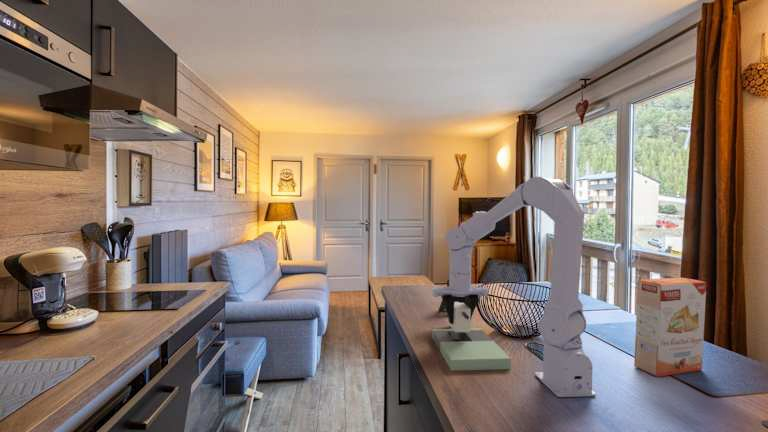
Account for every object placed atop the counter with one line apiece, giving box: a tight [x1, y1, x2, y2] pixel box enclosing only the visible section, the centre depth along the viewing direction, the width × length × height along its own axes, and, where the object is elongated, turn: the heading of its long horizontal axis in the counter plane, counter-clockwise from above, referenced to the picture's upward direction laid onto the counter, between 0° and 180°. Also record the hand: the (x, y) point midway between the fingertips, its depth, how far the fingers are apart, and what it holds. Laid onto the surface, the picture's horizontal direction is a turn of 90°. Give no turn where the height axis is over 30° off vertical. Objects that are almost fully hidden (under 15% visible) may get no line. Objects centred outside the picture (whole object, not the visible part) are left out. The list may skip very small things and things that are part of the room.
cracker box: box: [633, 277, 708, 378], centre depth 81 cm, size 14×6×21 cm, turn 105°
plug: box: [448, 302, 472, 332], centre depth 92 cm, size 10×4×6 cm, turn 4°
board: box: [432, 327, 512, 372], centre depth 90 cm, size 20×14×2 cm
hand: (459, 322), depth 94 cm, fingers closed on plug, 4 cm apart
